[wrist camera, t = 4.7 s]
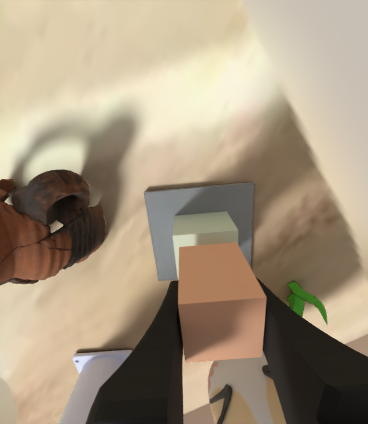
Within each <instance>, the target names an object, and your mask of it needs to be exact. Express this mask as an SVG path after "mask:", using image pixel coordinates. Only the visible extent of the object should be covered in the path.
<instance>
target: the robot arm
mask: <svg viewBox="0 0 368 424" xmlns="http://www.w3.org/2000/svg"><path fill="white" fill-rule="evenodd" d="M255 277H256V276H255ZM256 279H257V281H258V282H259V284H260V286H261V288H262V290H263V292H264V293H265V295H266V297H267V299H266V312H265V324H264V337H263V349H262V350H263V353H264V355H265V358H266V360H267V363H268V366H269V369H270V372H271V375H272V378H273V381H274V385H275V388H276V391H277V394H278V397H279V401H280V404H281V407H282V411H283V414H284V417H285V421H286V424H368V357H367V356H365V355H363V354H361V353H359V352H357V351H355V350H353V349H352V348H350V347H348V346H346V345H345V344H343V343H341V342H339V341H338V340H336V339H334V338H332V337H331V336H329V335H328V334H326V333H324V332H323V331H321V330H320V329H318V328H317V327H315V326H314V325H312V324H311V323H309V322H308V321H307V320H305V319H304V318H302V317H301V316H300V315H298V314H297V313H296V312H294V311H293V310H292V309H291V308H289V307H288V306H287V305H286V304H285V303H283V302H282V301H281V300H280V299H279V298H278V297H277V296H276V295H274V294H273V293H272V292H271V291H270V290H269V289H268V288H267V287H266V286H265V285H264V284H263V283H262V282H261V281H260V280H259V279H258V278H257V277H256ZM182 357H183V339H182V332H181V324H180V316H179V308H178V281H171V282H170V286H169V289H168V291H167V294H166V296H165V299H164V301H163V303H162V305H161V307H160V309H159V311H158V313H157V315H156V317H155V318H154V320H153V322H152V324H151V325H150V327H149V329H148V330H147V332H146V333H145V335H144V336H143V338H142V339H141V340H140V342H139V343H138V345H137V346H136V347H135V349H134V350H133V351H132V350H117V351H104V352H91V353H77V354H74V356H73V358H72V359H73V361H74V363H75V365H76V368H77V370H78V372H79V377H78V379H77V381H76V384H75V386H74V388H73V391H72V393H71V395H70V398H69V400H68V402H67V405H66V407H65V409H64V412H63V414H62V416H61V419H60V421H59V423H58V424H183V386H182Z"/></svg>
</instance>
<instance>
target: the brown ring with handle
mask: <svg viewBox="0 0 368 424" xmlns="http://www.w3.org/2000/svg"><path fill="white" fill-rule="evenodd" d="M13 190H14V181H13V180H12V179H2V180H0V285H2V284H5V283H7V282H11V283H15V284H34V283H36V282H38V281H39V280H45V279H47V278H49V277H52V276H55V275H56V274H57V273H58V272H59V271H60V270H61V269H66V268H68V267H71V266H72V265H73V264H74V263H79V262H82V261H84V260H85V259H87V258H88V256H89V255H90V254H92V253H93V252H95V251H96V250H97V249H98V248H99V247H100V245H101V243H102V242H103V239H104V235H105V219H104V216H103V212H102V209H101V207H100V206H95V207H90V208H87V207H88V205H89V199H88V197H89V186H88V183H87V182H86V181H85V180H84V179H83V178H82V177H81V176H80V175H79V174H77V173H74V172H72V171H68V170H51V171H47V172H44V173H42V174H40V175H38V176H36V177H35V178H33V179H32V180H31V181H30V182H29V184H28V185H27V186H25V187H23V188H21V189H19V190H17V191H16V192H14V194H13V195H12V202H13V205H8V204H7V203H5V202H4V201H5V200H6V199H7V198H8V197H9V194H8V193H10V192H12V191H13ZM56 220H57V221H59V222H61V223H62V224H63V227H61V228H60V229H58V230H56V231H55V232H53V233H51V232H50V227H49V225H48V224H52V223H54V222H55V221H56Z"/></svg>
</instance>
